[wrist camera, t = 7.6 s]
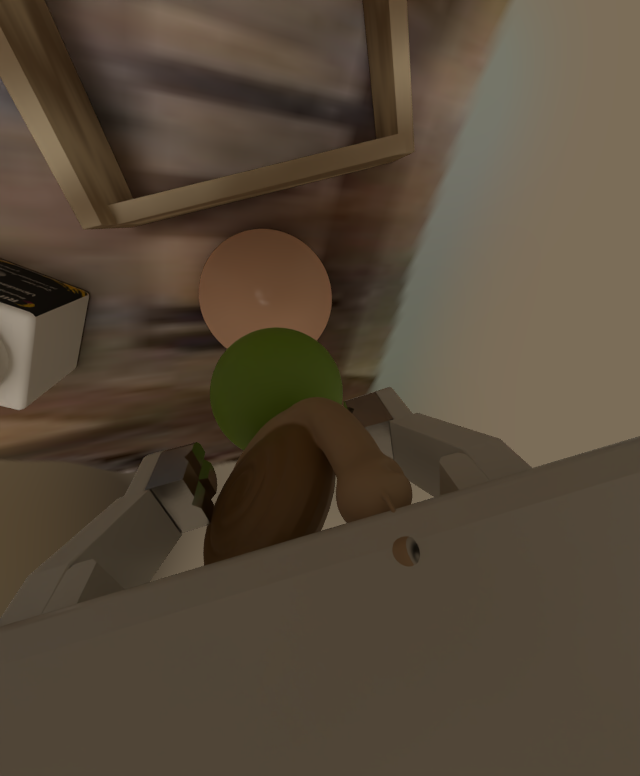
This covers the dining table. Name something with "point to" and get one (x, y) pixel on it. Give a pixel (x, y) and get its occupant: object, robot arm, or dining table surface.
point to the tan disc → (264, 286)
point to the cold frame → (119, 210)
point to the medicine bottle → (36, 333)
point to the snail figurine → (293, 449)
